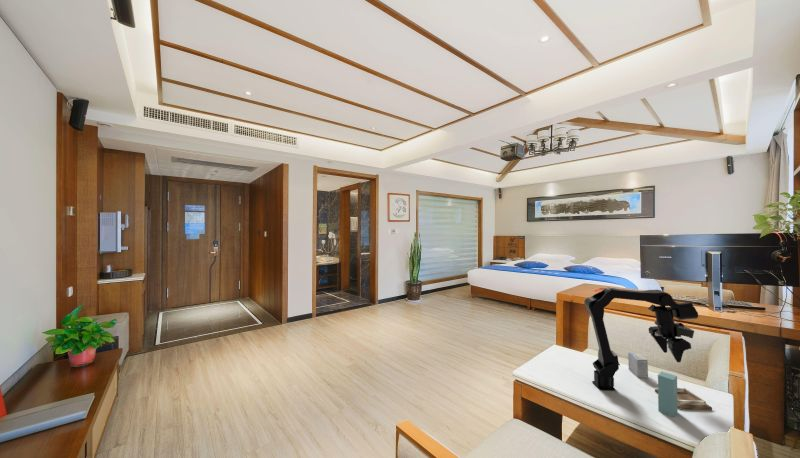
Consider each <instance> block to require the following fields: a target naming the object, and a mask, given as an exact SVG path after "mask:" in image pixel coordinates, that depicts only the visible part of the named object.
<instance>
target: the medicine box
mask: <svg viewBox="0 0 800 458" xmlns="http://www.w3.org/2000/svg"><path fill="white" fill-rule="evenodd" d="M627 353H628V354H627V357H628V359H627V360H628V371H630V373H632V374H633V375H634V376H636V377H637V378H638V379H639V378H642V379H648V378H649V363H648V362H649V361H648V359H647V358H645V357H644V356H643V355H641V354H640V353H638V352H627Z"/></svg>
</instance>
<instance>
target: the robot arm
mask: <svg viewBox="0 0 800 458" xmlns="http://www.w3.org/2000/svg"><path fill="white" fill-rule="evenodd" d="M614 299H618V300H619V299H621V300H629V301H641V302H646V303H651V305H650V306H648V308H647V310H648V311H650V312H654V314H655V315H654V316H655V320H656V321H655V320H654V325H655V326H649V327H648V334H650V336H651V337H652V338H653V339H654V341H655V342H656V344H657V345H658V346H659V348H660V349H661V351H662V352H663V353H666V354H667V353H668V350H669V351H670V354H672V357H673V358H674V360H675V361H676V362H677V363H681V362H682V358H683V355H684V352H685V351H687V350H691V349H692V343H690V342H689V341H687V340H686V339H684V338H682V337H686V338H689V339H693V338H694V333H695V330H694V329H692V328H690V327H687V326H685V325H684V324H683V323H682V322H679V321H683V320H685V321H686V320H697V319H698V318H699V312H698V310H696V309H697V308H696V307H695V306H694V305H693V303H692V302H690V301H685V302H676V301H675V300H673V296H672V295H671V293H668V292H666V291H663V290H660V289H647V290H634V289H632V290H631V289H624V288H611V287H605V288H603V289H602V290H600V291H599V292H596V293H595V294H593V295H592V296H588V297H586V298H585V299H584V307H585V309H586V310H587V312H588V314H589V316H590V317H591V322H592V325H593V329H594V333H595V338H596V342H597V345H598V352H597V359H596V360H595V361H593V362H592V366H593V367H594V369H595V370H593V380H592V381H591V382H592V383H593V385H594V386H596V388H597V389H598V390H601V391H602V390H603V391H605V390H606V391H615V390H616V388H615V378H614V376H615V374H616V372H618V370H619V371H620V369H619V366H621V364H620V363H619V357H618V355H617V354H616V352H614V350H612V349H611V345H610V341H609V337H608V333H607V329H606V325H605V321H604V318H605V317H604V316H605V308H606V307H607V306H608V305H609V304H610V303H611V302H612V301H613V300H614ZM674 318H676V319H677V320H679V321H677V322H676V321H675V319H674Z"/></svg>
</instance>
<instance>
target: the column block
mask: <svg viewBox="0 0 800 458" xmlns="http://www.w3.org/2000/svg"><path fill="white" fill-rule="evenodd" d="M677 388H678V376H677V375H675V374H671V373H669V372H665V371H660V372H659V373H658V374H657V389H658V393H657V402H658V404H657V405H658V408H657V409H658V412H659V413H663V414H666V415H668V416H670V417H672V418H675V416H676V415H677V414H678V413H679V412H678V411H679V409H678V406H677Z"/></svg>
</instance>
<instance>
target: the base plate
mask: <svg viewBox="0 0 800 458" xmlns="http://www.w3.org/2000/svg"><path fill="white" fill-rule="evenodd" d="M654 393H656V394H658V388H654ZM677 406H678V410H700V411H703V410H704V411H705V410H706V411H712V410H713V407H712V406H711V405H709V404H707V401H705V400H704V399H703V398H701V397H700V396H698V395H696V394H695V393H694V392H692V391H690V390H688V389H687V388H685V387H677ZM707 409H708V410H707ZM709 409H711V410H709Z"/></svg>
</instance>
